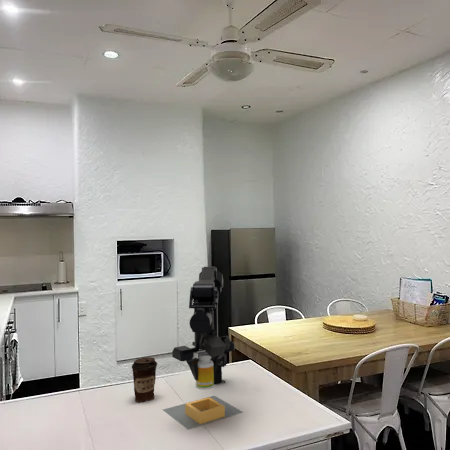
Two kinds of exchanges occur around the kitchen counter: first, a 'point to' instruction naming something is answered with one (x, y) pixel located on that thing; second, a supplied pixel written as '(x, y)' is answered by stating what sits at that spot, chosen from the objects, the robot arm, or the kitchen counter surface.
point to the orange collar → (204, 416)
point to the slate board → (189, 423)
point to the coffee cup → (144, 378)
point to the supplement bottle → (205, 372)
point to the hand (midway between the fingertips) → (204, 378)
